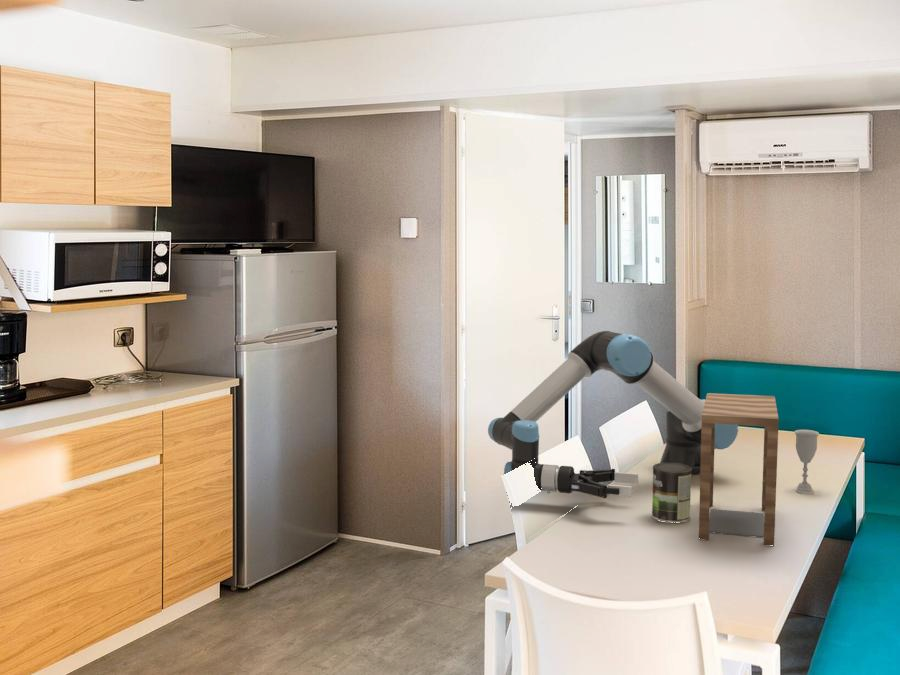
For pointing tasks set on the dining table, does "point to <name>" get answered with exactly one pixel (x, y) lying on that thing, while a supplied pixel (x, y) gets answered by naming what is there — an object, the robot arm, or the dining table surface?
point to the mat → (736, 522)
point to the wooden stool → (763, 414)
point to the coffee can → (671, 492)
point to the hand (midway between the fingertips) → (635, 485)
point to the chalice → (805, 455)
